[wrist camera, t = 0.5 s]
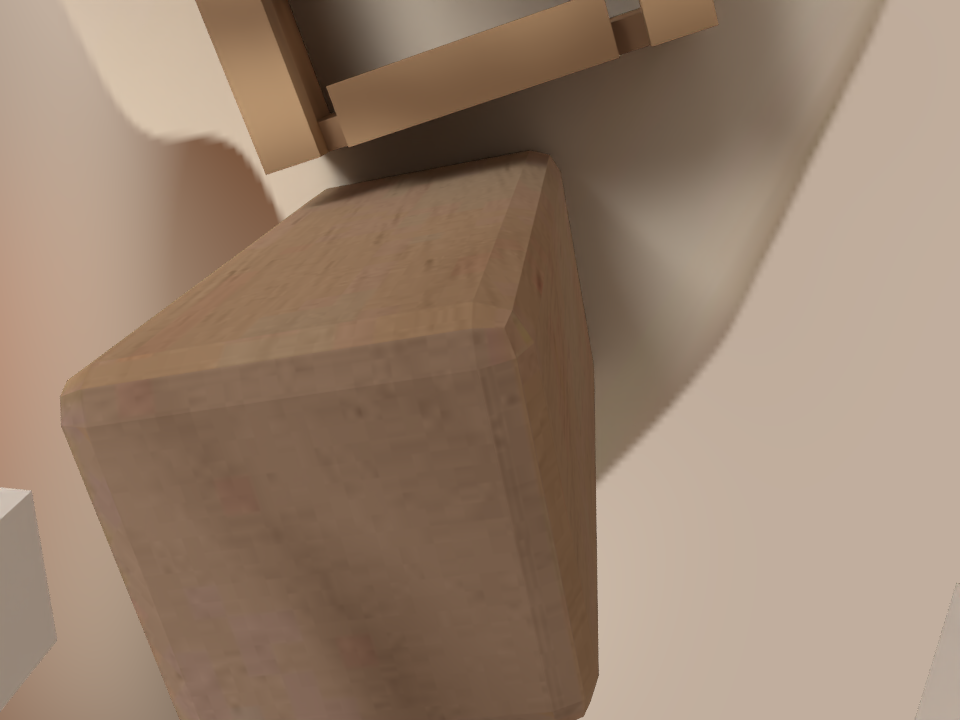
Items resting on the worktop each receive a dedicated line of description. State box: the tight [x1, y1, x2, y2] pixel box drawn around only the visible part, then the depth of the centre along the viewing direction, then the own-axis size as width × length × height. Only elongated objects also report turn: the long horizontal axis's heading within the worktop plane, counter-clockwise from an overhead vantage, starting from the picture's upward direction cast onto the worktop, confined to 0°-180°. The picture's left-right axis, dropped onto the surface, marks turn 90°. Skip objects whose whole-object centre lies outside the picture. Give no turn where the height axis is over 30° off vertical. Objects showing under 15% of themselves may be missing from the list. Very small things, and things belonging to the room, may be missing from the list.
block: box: [60, 150, 599, 720], centre depth 28 cm, size 10×10×20 cm
